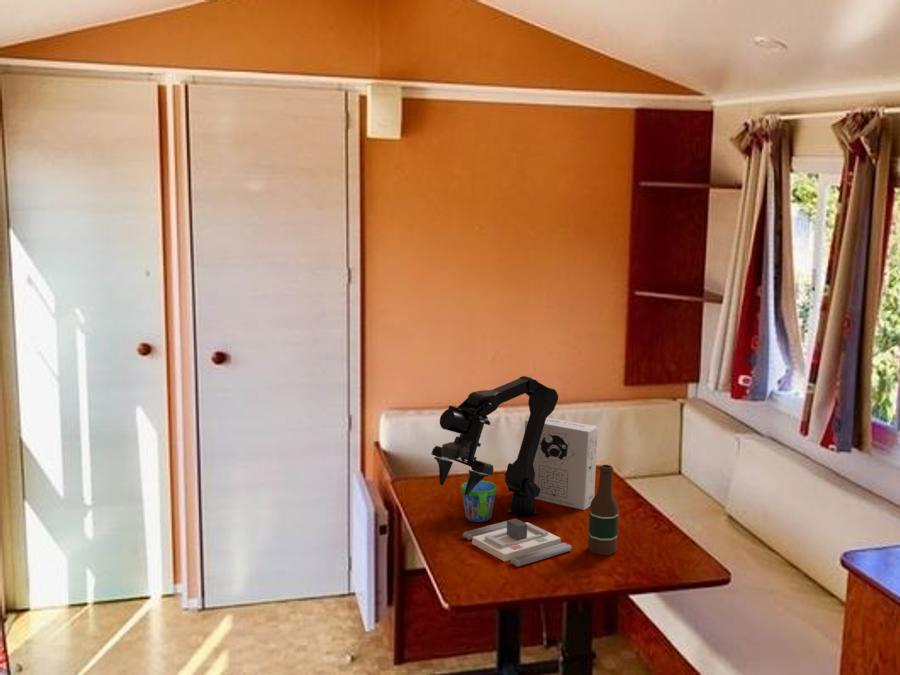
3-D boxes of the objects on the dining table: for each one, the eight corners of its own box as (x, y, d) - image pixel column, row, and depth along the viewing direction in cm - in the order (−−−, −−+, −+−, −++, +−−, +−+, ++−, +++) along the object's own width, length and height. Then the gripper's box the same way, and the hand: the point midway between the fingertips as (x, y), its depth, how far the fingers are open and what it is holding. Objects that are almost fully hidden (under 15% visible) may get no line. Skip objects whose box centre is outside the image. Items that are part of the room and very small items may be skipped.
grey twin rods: (515, 523, 263) (515, 517, 263) (573, 551, 244) (573, 545, 244) (461, 537, 252) (461, 531, 252) (517, 568, 233) (517, 561, 232)
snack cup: (459, 508, 274) (460, 476, 272) (493, 509, 274) (494, 477, 273) (461, 528, 259) (462, 494, 257) (498, 528, 259) (499, 495, 257)
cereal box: (594, 503, 281) (598, 426, 277) (584, 510, 275) (588, 431, 271) (532, 489, 293) (535, 415, 288) (521, 496, 286) (524, 420, 282)
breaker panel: (527, 528, 259) (527, 518, 259) (560, 544, 248) (560, 534, 248) (472, 543, 248) (472, 533, 247) (504, 561, 237) (504, 550, 236)
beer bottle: (599, 558, 240) (603, 472, 236) (581, 547, 247) (586, 463, 243) (622, 553, 244) (627, 468, 239) (604, 542, 250) (609, 460, 246)
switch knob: (514, 532, 250) (515, 518, 250) (526, 538, 246) (527, 524, 246) (506, 534, 249) (507, 520, 248) (518, 540, 245) (518, 526, 244)
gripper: (428, 423, 253) (411, 476, 252) (479, 441, 241) (462, 497, 240) (451, 429, 262) (435, 481, 261) (501, 447, 250) (485, 501, 249)
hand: (453, 489), depth 252 cm, fingers open, 9 cm apart
